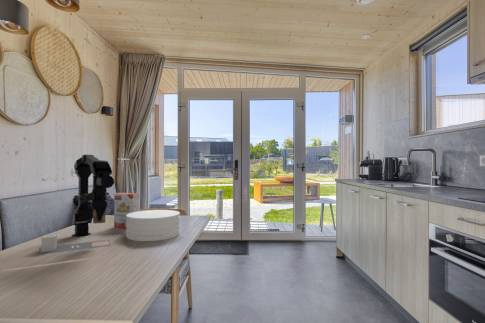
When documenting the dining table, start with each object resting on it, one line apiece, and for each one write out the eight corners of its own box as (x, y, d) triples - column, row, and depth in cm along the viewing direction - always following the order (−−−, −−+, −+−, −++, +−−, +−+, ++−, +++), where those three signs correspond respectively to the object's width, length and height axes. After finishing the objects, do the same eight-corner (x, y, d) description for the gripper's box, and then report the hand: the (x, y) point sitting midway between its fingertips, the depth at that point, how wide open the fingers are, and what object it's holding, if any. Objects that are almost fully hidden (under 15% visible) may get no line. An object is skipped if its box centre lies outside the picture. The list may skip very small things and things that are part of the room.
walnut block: (93, 223, 126) (93, 210, 126) (93, 221, 130) (93, 209, 130) (105, 222, 128) (105, 209, 128) (104, 220, 132) (105, 208, 132)
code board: (35, 256, 112) (35, 254, 112) (40, 248, 123) (40, 247, 123) (110, 247, 126) (110, 245, 126) (109, 240, 136) (109, 239, 136)
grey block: (41, 252, 116) (41, 237, 116) (42, 249, 120) (43, 235, 121) (55, 250, 118) (55, 236, 119) (56, 247, 123) (56, 234, 123)
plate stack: (114, 237, 145) (114, 215, 145) (154, 227, 169) (154, 208, 170) (152, 244, 132) (153, 220, 132) (189, 232, 156) (190, 212, 157)
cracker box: (113, 227, 167) (113, 193, 167) (120, 225, 172) (120, 192, 173) (132, 229, 163) (133, 194, 163) (139, 227, 168) (139, 193, 169)
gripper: (81, 186, 134) (80, 218, 133) (78, 188, 117) (78, 225, 117) (106, 185, 139) (105, 216, 139) (107, 188, 123) (107, 222, 122)
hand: (99, 220), depth 129 cm, fingers closed on walnut block, 5 cm apart
